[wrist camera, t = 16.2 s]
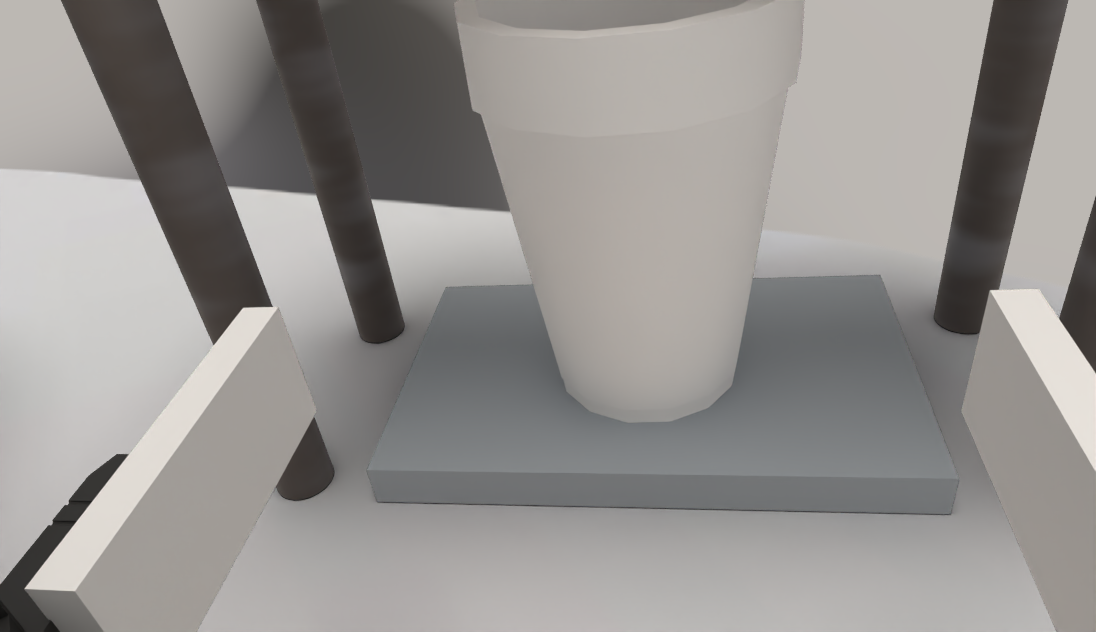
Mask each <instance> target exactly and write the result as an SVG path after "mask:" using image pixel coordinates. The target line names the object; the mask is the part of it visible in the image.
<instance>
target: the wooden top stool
mask: <svg viewBox="0 0 1096 632" xmlns="http://www.w3.org/2000/svg"><path fill="white" fill-rule="evenodd" d="M61 1H62V4H63V6H64V8H65V10H66V13H67V15H68V17H69V19H70V22H71V24H72V26H73V29H74V31H75V33H76V35H77V38H78V40H79V42H80V44H81V47H82V49H83V51H84V53H85V55H86V58H87V60H88V62H89V65H90V66H91V69H92V71H93V74H94V76H95V78H96V80H97V83H98V85H99V87H100V90H101V92H102V94H103V96H104V99H105V101H106V103H107V105H108V108H109V110H110V112H111V114H112V117H113V119H114V121H115V123H116V126H117V128H118V130H119V132H120V134H121V137H122V139H123V141H124V144H125V146H126V148H127V151H128V153H129V155H130V157H131V160H132V162H133V164H134V166H135V169H136V171H137V173H138V175H139V178H140V180H141V182H142V185H143V187H144V189H145V191H146V194H147V196H148V198H149V200H150V203H151V205H152V207H153V209H154V212H155V214H156V216H157V219H158V221H159V223H160V225H161V228H162V230H163V232H164V234H165V237H166V239H167V241H168V243H169V246H170V248H171V250H172V252H173V255H174V257H175V259H176V262H177V264H178V266H179V268H180V271H181V273H182V275H183V277H184V280H185V282H186V284H187V286H188V289H189V291H190V293H191V295H192V298H193V300H194V302H195V304H196V307H197V309H198V311H199V314H200V316H201V318H202V320H203V323H204V325H205V327H206V329H207V332H208V334H209V336H210V338H211V341H212V343H213V345H215V343H216V342H217V341H218V339H219V338H220V337H221V336H222V334H223V333H224V332H225V330H226V329H227V328H228V327H229V325H230V324H231V323H232V321H233V320H234V319H235V318H236V316H237V315H238V314H239V313H240V311H241V310H242V309H243V308H255V307H273V306H272V304H271V301H270V298H269V296H268V293H267V290H266V288H265V285H264V283H263V280H262V277H261V275H260V272H259V269H258V267H257V264H256V261H255V259H254V256H253V253H252V251H251V248H250V245H249V243H248V240H247V237H246V235H245V232H244V229H243V227H242V224H241V222H240V219H239V216H238V214H237V211H236V208H235V206H234V203H233V200H232V198H231V195H230V192H229V190H228V187H227V185H226V182H225V179H224V177H223V174H222V171H221V168H220V166H219V163H218V161H217V158H216V155H215V153H214V150H213V147H212V145H211V142H210V139H209V137H208V134H207V131H206V129H205V126H204V123H203V121H202V119H201V115H200V113H199V110H198V108H197V105H196V103H195V100H194V97H193V94H192V92H191V89H190V87H189V84H188V81H187V78H186V76H185V73H184V70H183V68H182V65H181V63H180V60H179V57H178V55H177V52H176V49H175V46H174V44H173V41H172V38H171V36H170V33H169V30H168V28H167V25H166V23H165V20H164V17H163V15H162V12H161V9H160V7H159V4H158V1H157V0H61ZM256 1H257V4H258V8H259V11H260V14H261V17H262V20H263V23H264V27H265V30H266V34H267V37H268V40H269V43H270V46H271V50H272V53H273V56H274V59H275V62H276V66H277V69H278V72H279V75H280V79H281V82H282V85H283V88H284V91H285V95H286V98H287V101H288V104H289V108H290V111H291V114H292V118H293V120H294V124H295V127H296V130H297V134H298V137H299V140H300V143H301V147H302V150H303V153H304V156H305V159H306V162H307V166H308V169H309V172H310V176H311V179H312V182H313V185H314V189H315V191H316V195H317V198H318V201H319V205H320V208H321V211H322V214H323V218H324V221H325V224H326V227H327V231H328V234H329V237H330V240H331V243H332V247H333V250H334V253H335V256H336V260H337V263H338V266H339V269H340V272H341V276H342V279H343V282H344V285H345V289H346V292H347V295H348V298H349V302H350V305H351V308H352V311H353V314H354V318H355V321H356V324H357V327H358V331H359V334H360V337H361V338H362V339H363V340H364V341H367V342H371V343H379V342H384V341H388V340H390V339H393V338H395V337H396V336H398V335H399V334H400V333H401V332H402V331H403V329H404V321H403V317H402V313H401V309H400V306H399V302H398V298H397V295H396V291H395V287H394V283H393V280H392V276H391V272H390V268H389V265H388V261H387V257H386V254H385V250H384V246H383V242H382V239H381V235H380V231H379V227H378V224H377V220H376V216H375V212H374V209H373V205H372V201H371V198H370V194H369V190H368V187H367V183H366V179H365V175H364V172H363V168H362V164H361V161H360V157H359V153H358V149H357V145H356V142H355V138H354V134H353V131H352V127H351V123H350V119H349V116H348V112H347V108H346V104H345V101H344V97H343V93H342V89H341V86H340V82H339V78H338V74H337V71H336V67H335V63H334V60H333V56H332V52H331V49H330V45H329V41H328V37H327V34H326V30H325V27H324V22H323V19H322V15H321V11H320V7H319V4H318V0H256ZM1067 4H1068V0H994V1H993V7H992V12H991V17H990V22H989V28H988V33H987V38H986V44H985V49H984V54H983V59H982V64H981V70H980V75H979V80H978V85H977V91H976V96H975V101H974V107H973V112H972V117H971V123H970V127H969V133H968V138H967V143H966V148H965V154H964V159H963V165H962V170H961V175H960V180H959V186H958V191H957V196H956V201H955V207H954V212H953V217H952V222H951V228H950V233H949V239H948V243H947V248H946V254H945V259H944V264H943V269H942V275H941V280H940V285H939V290H938V296H937V301H936V306H935V312H934V319H935V321H936V322H937V323H938V324H939V325H940V326H942V327H943V328H945V329H947V330H950V331H953V332H957V333H964V334H973V333H979V332H980V330H981V326H982V321H983V317H984V313H985V309H986V304H987V300H988V296H989V292H990V290H999V286H1000V282H1001V278H1002V274H1003V269H1004V265H1005V261H1006V257H1007V253H1008V249H1009V245H1010V240H1011V236H1012V232H1013V228H1014V224H1015V220H1016V215H1017V211H1018V207H1019V203H1020V199H1021V194H1022V191H1023V186H1024V182H1025V178H1026V174H1027V170H1028V166H1029V161H1030V157H1031V153H1032V149H1033V145H1034V141H1035V136H1036V132H1037V127H1038V124H1039V120H1040V116H1041V112H1042V107H1043V103H1044V99H1045V95H1046V91H1047V86H1048V82H1049V78H1050V74H1051V70H1052V66H1053V62H1054V58H1055V53H1056V49H1057V44H1058V41H1059V37H1060V33H1061V28H1062V24H1063V20H1064V16H1065V12H1066V8H1067ZM1059 320H1060V321H1061V323H1062V324H1063V326H1064V327H1065V329H1066V330H1067V332H1068V333H1069V335H1070V336H1071V337H1072V339H1073V340H1074V342H1075V343H1076V345H1077V346H1078V348H1079V349H1080V351H1081V352H1082V354H1083V355H1084V357H1085V358H1086V360H1087V361H1088V363H1089V364H1090V366H1091V367H1092V369H1093V370H1094V372H1095V373H1096V197H1095V201H1094V204H1093V208H1092V211H1091V214H1090V217H1089V221H1088V224H1087V227H1086V231H1085V234H1084V238H1083V241H1082V244H1081V247H1080V251H1079V254H1078V258H1077V261H1076V264H1075V268H1074V271H1073V274H1072V278H1071V282H1070V284H1069V287H1068V291H1067V294H1066V298H1065V301H1064V304H1063V308H1062V311H1061V314H1060V318H1059ZM333 475H334V468H333V466H332V463H331V460H330V458H329V455H328V452H327V450H326V447H325V444H324V442H323V439H322V436H321V434H320V431H319V428H318V426H317V423H316V420H315V418H314V417H313V419H312V421H311V423H310V425H309V426H308V428H307V430H306V432H305V434H304V436H303V437H302V439H301V441H300V443H299V445H298V447H297V448H296V450H295V452H294V454H293V456H292V458H291V459H290V461H289V463H288V465H287V467H286V469H285V471H284V472H283V474H282V476H281V478H280V480H279V482H278V483H277V485H276V488H277V490H278V492H279V494H280V495H281V496H282V497H284V498H286V499H290V500H301V499H306V498H309V497H312V496H314V495H316V494H318V493H319V492H321V491H322V490H324V489H325V488H326V487H327V486H328V485H329V483H330V482H331V480H332V478H333Z"/></svg>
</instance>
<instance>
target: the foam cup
mask: <svg viewBox="0 0 1096 632" xmlns="http://www.w3.org/2000/svg"><path fill="white" fill-rule="evenodd" d="M804 1H805V0H458V1H457V2H455V3H454V8H455V14H456V20H457V25H458V31H459V36H460V42H461V48H462V54H463V60H464V65H465V71H466V76H467V82H468V88H469V93H470V99H471V104H472V110H473V111H475V112H478V113H479V114H481V116H482V119H483V122H484V125H485V128H486V132H487V135H488V139H489V142H490V145H491V148H492V152H493V155H494V158H495V161H496V164H497V168H498V171H499V175H500V178H501V181H502V184H503V188H504V191H505V194H506V197H507V201H508V204H509V207H510V210H511V214H512V217H513V220H514V224H515V227H516V230H517V233H518V237H519V240H520V243H521V246H522V250H523V253H524V256H525V259H526V263H527V266H528V269H529V273H530V276H531V279H532V282H533V286H534V289H535V292H536V295H537V299H538V302H539V305H540V309H541V312H542V315H543V318H544V322H545V325H546V328H547V331H548V335H549V338H550V341H551V344H552V348H553V351H554V354H555V358H556V361H557V364H558V367H559V371H560V374H561V377H562V379H563V380H564V384H565V388H566V392H568V393H569V394H570V395H571V396H572V397H573V398H575V399H576V400H577V401H578V402H579V403H580V404H582V405H583V406H584V407H585V408H586V409H587V410H589V411H590V412H593V413H596V414H599V415H603V416H606V417H610V418H613V419H616V420H620V421H623V422H626V423H639V422H671V421H674V420H676V419H679V418H682V417H685V416H687V415H690V414H693V413H696V412H699V411H701V410H704V409H707V408H709V407H710V406H711V405H712V404H713V403H714V402H715V401H716V400H717V399H718V398H719V397H720V396H722V395H723V394H724V393H725V392H726V391H727V390H728V389H729V388H730V387H731V386H732V383H733V378H734V373H735V369H736V364H737V359H738V354H739V349H740V344H741V338H742V333H743V328H744V322H745V317H746V312H747V306H748V301H749V295H750V290H751V285H752V279H753V274H754V269H755V263H756V258H757V252H758V247H759V242H760V236H761V231H762V225H763V220H764V215H765V209H766V204H767V199H768V193H769V188H770V183H771V177H772V171H773V166H774V161H775V156H776V150H777V145H778V139H779V134H780V129H781V123H782V118H783V113H784V107H785V102H786V97H787V91H788V87H790V86H791V85H793V84H795V83H796V81H797V76H798V70H799V65H800V60H801V50H802V34H803V18H804Z"/></svg>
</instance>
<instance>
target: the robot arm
mask: <svg viewBox="0 0 1096 632" xmlns="http://www.w3.org/2000/svg"><path fill="white" fill-rule="evenodd" d="M316 412H317V409H316V407H315V404H314V401H313V399H312V396H311V393H310V391H309V388H308V385H307V382H306V380H305V377H304V374H303V372H302V369H301V366H300V364H299V361H298V358H297V356H296V353H295V350H294V347H293V345H292V342H291V339H290V337H289V334H288V331H287V329H286V326H285V323H284V321H283V318H282V315H281V312H280V310H279V307H255V308H243V309H242V310H241V311H240V313H239V314H238V315H237V316H236V318H235V319H234V320H233V321H232V323H231V324H230V325H229V327H228V328H227V329H226V330H225V332H224V333H223V334H222V336H221V337H220V338H219V339H218V341H217V342H216V343H215V345H214V346H213V347H212V348H211V350H210V351H209V352H208V354H207V355H206V356H205V357H204V359H203V360H202V361H201V363H200V364H199V365H198V366H197V368H196V369H195V370H194V372H193V373H192V374H191V375H190V377H189V378H188V379H187V381H186V382H185V383H184V384H183V386H182V387H181V388H180V390H179V391H178V392H177V393H176V395H175V396H174V397H173V399H172V400H171V401H170V402H169V404H168V405H167V406H166V408H165V409H164V410H163V411H162V413H161V414H160V415H159V417H158V418H157V419H156V420H155V422H154V423H153V424H152V426H151V427H150V428H149V429H148V431H147V432H146V433H145V435H144V436H143V437H142V438H141V440H140V441H139V442H138V443H137V445H136V446H135V447H134V449H133V450H132V451H131V452H130V454H116V455H115V456H114V457H112V458H111V459H110V460H109V461H107V462H106V463H105V464H103V465H102V466H101V467H99V468H98V469H97V470H96V471H94V472H93V473H92V474H90V475H89V476H88V477H87V478H86V480H85V481H84V482H83V483H82V485H81V486H80V487H79V488H78V490H77V491H76V492H75V493H74V494H73V496H72V497H71V498H70V499H69V504H68V505H65V506H64V507H63V508H62V509H61V510H60V512H59V513H58V514H57V515H56V517H55V518H54V519H53V524H52V525H51V526H50V525H48V526H47V528H46V529H45V530H44V531H43V533H42V534H41V535H40V536H39V538H38V539H37V540H36V541H35V543H34V544H33V545H32V546H31V547H30V549H29V550H28V551H27V552H26V554H25V555H24V556H23V557H22V559H21V560H20V561H19V562H18V563H17V565H16V566H15V567H14V568H13V570H12V571H11V572H10V573H9V575H8V576H7V577H6V578H5V579H4V581H3V582H2V583H1V584H0V632H197V630H198V628H199V626H200V625H201V623H202V621H203V619H204V617H205V615H206V614H207V612H208V610H209V608H210V606H211V604H212V603H213V601H214V599H215V597H216V595H217V593H218V592H219V590H220V588H221V586H222V584H223V582H224V581H225V579H226V577H227V575H228V573H229V571H230V570H231V568H232V566H233V564H234V562H235V560H236V559H237V557H238V555H239V553H240V551H241V549H242V548H243V546H244V544H245V542H246V540H247V538H248V537H249V535H250V533H251V531H252V529H253V527H254V526H255V524H256V522H257V520H258V518H259V516H260V515H261V513H262V511H263V509H264V507H265V505H266V504H267V502H268V500H269V498H270V496H271V494H272V493H273V491H274V489H275V487H276V485H277V483H278V482H279V480H280V478H281V476H282V474H283V472H284V471H285V469H286V467H287V465H288V463H289V461H290V459H291V458H292V456H293V454H294V452H295V450H296V448H297V447H298V445H299V443H300V441H301V439H302V437H303V436H304V434H305V432H306V430H307V428H308V426H309V425H310V423H311V421H312V419H313V417H314V415H315V414H316ZM961 412H962V414H963V417H964V419H965V421H966V424H967V426H968V428H969V430H970V433H971V435H972V437H973V440H974V442H975V444H976V447H977V449H978V451H979V454H980V456H981V458H982V461H983V463H984V465H985V467H986V470H987V472H988V474H989V477H990V479H991V481H992V484H993V486H994V488H995V491H996V493H997V495H998V498H999V500H1000V502H1001V505H1002V507H1003V509H1004V511H1005V514H1006V516H1007V518H1008V521H1009V523H1010V525H1011V528H1012V530H1013V532H1014V535H1015V537H1016V539H1017V542H1018V544H1019V546H1020V549H1021V551H1022V553H1023V555H1024V558H1025V560H1026V562H1027V565H1028V567H1029V569H1030V572H1031V574H1032V576H1033V579H1034V581H1035V583H1036V586H1037V588H1038V590H1039V593H1040V595H1041V597H1042V599H1043V602H1044V604H1045V606H1046V609H1047V611H1048V613H1049V616H1050V618H1051V620H1052V623H1053V625H1054V627H1055V630H1056V632H1096V373H1095V372H1094V370H1093V369H1092V367H1091V366H1090V364H1089V363H1088V361H1087V360H1086V358H1085V357H1084V355H1083V354H1082V352H1081V351H1080V349H1079V348H1078V346H1077V345H1076V343H1075V342H1074V340H1073V339H1072V337H1071V336H1070V335H1069V333H1068V332H1067V330H1066V329H1065V327H1064V326H1063V324H1062V323H1061V321H1060V320H1059V318H1058V317H1057V315H1056V314H1055V312H1054V311H1053V309H1052V308H1051V306H1050V305H1049V303H1048V302H1047V300H1046V299H1045V297H1044V296H1043V294H1042V293H1041V292H1040V290H1039V289H1018V290H990V292H989V296H988V300H987V304H986V309H985V313H984V317H983V321H982V326H981V330H980V334H979V338H978V343H977V347H976V351H975V355H974V359H973V364H972V368H971V372H970V376H969V381H968V385H967V389H966V393H965V398H964V402H963V406H962V410H961Z"/></svg>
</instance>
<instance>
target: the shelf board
mask: <svg viewBox="0 0 1096 632" xmlns="http://www.w3.org/2000/svg"><path fill="white" fill-rule="evenodd" d="M367 473H368V476H369V479H370V482H371V485H372V488H373V491H374V493H375V496H376V499H377V502H409V503H455V504H501V505H547V506H593V507H639V508H685V509H731V510H777V511H823V512H869V513H916V514H951V511H952V507H953V503H954V499H955V495H956V491H957V487H958V482H959V476H958V474H957V471H956V469H955V466H954V463H953V461H952V458H951V456H950V453H949V451H948V448H947V445H946V443H945V440H944V438H943V435H942V433H941V430H940V427H939V425H938V422H937V420H936V417H935V415H934V412H933V409H932V407H931V404H930V402H929V399H928V397H927V394H926V391H925V389H924V386H923V384H922V381H921V379H920V376H919V373H918V371H917V368H916V366H915V363H914V360H913V358H912V355H911V353H910V350H909V348H908V345H907V342H906V340H905V337H904V335H903V332H902V330H901V327H900V324H899V322H898V319H897V317H896V314H895V312H894V309H893V306H892V304H891V301H890V299H889V296H888V294H887V291H886V288H885V286H884V283H883V281H882V278H881V276H880V275H859V276H823V277H787V278H753V279H752V285H751V290H750V295H749V301H748V306H747V312H746V317H745V322H744V328H743V333H742V338H741V344H740V349H739V354H738V359H737V364H736V369H735V373H734V378H733V383H732V386H731V387H730V388H729V389H728V390H727V391H726V392H725V393H724V394H723V395H722V396H720V397H719V398H718V399H717V400H716V401H715V402H714V403H713V404H712V405H711V406H710V407H709V408H707V409H704V410H701V411H699V412H696V413H693V414H690V415H687V416H685V417H682V418H679V419H676V420H674V421H671V422H639V423H626V422H623V421H620V420H616V419H613V418H610V417H606V416H603V415H599V414H596V413H593V412H590V411H589V410H587V409H586V408H585V407H584V406H583V405H582V404H580V403H579V402H578V401H577V400H576V399H575V398H573V397H572V396H571V395H570V394H569V393H568V392H566V388H565V384H564V380H563V379H562V377H561V374H560V371H559V367H558V364H557V361H556V358H555V354H554V351H553V348H552V344H551V341H550V338H549V335H548V331H547V328H546V325H545V322H544V318H543V315H542V312H541V309H540V305H539V302H538V299H537V295H536V292H535V289H534V286H533V285H499V286H463V287H446V288H445V290H444V293H443V295H442V297H441V300H440V302H439V304H438V306H437V309H436V311H435V313H434V316H433V318H432V320H431V323H430V325H429V327H428V330H427V332H426V334H425V336H424V339H423V341H422V343H421V346H420V348H419V350H418V353H417V355H416V357H415V359H414V362H413V364H412V366H411V369H410V371H409V373H408V376H407V378H406V380H405V383H404V385H403V387H402V389H401V392H400V394H399V396H398V399H397V401H396V403H395V406H394V408H393V410H392V412H391V415H390V417H389V419H388V422H387V424H386V426H385V429H384V431H383V433H382V436H381V438H380V440H379V442H378V445H377V447H376V449H375V452H374V454H373V456H372V459H371V461H370V463H369V465H368V468H367Z"/></svg>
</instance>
